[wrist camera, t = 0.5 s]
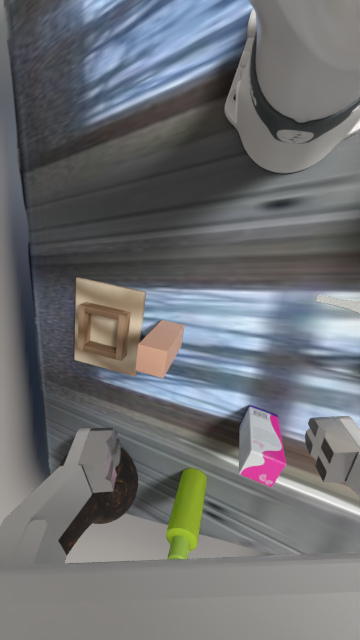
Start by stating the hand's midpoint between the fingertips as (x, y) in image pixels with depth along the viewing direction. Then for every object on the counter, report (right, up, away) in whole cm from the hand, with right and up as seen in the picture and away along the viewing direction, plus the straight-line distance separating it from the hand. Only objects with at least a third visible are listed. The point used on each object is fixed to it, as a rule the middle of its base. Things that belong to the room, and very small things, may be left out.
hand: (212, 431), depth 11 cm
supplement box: (+14, -15, +41) cm, 46 cm away
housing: (-16, +3, +42) cm, 45 cm away
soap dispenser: (+2, -32, +49) cm, 58 cm away
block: (-3, +2, +39) cm, 39 cm away
